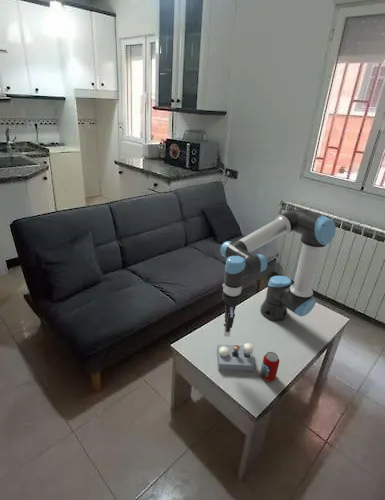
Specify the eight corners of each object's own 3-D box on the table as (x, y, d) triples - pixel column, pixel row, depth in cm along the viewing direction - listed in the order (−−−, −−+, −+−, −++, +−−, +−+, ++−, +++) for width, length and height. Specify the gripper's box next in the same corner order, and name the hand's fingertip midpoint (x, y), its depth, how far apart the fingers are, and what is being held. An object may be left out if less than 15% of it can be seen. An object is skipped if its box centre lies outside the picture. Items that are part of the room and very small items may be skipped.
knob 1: (227, 354, 146) (228, 346, 144) (228, 361, 142) (229, 353, 140) (218, 353, 146) (219, 346, 144) (218, 360, 142) (219, 353, 140)
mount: (249, 352, 150) (250, 346, 148) (253, 371, 140) (254, 365, 138) (216, 350, 150) (217, 344, 148) (218, 370, 139) (219, 363, 138)
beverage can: (258, 370, 141) (262, 350, 135) (272, 369, 141) (277, 350, 136) (262, 382, 135) (266, 362, 129) (277, 382, 135) (282, 362, 130)
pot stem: (238, 351, 144) (239, 345, 142) (239, 356, 142) (240, 349, 140) (232, 351, 144) (233, 344, 142) (232, 355, 141) (233, 349, 140)
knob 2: (251, 351, 145) (252, 343, 143) (252, 358, 141) (254, 350, 139) (242, 350, 145) (243, 342, 143) (243, 357, 141) (244, 349, 139)
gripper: (221, 282, 133) (217, 325, 144) (224, 300, 121) (219, 345, 132) (239, 283, 133) (233, 325, 144) (243, 301, 121) (236, 346, 132)
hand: (226, 335), depth 138 cm, fingers closed
